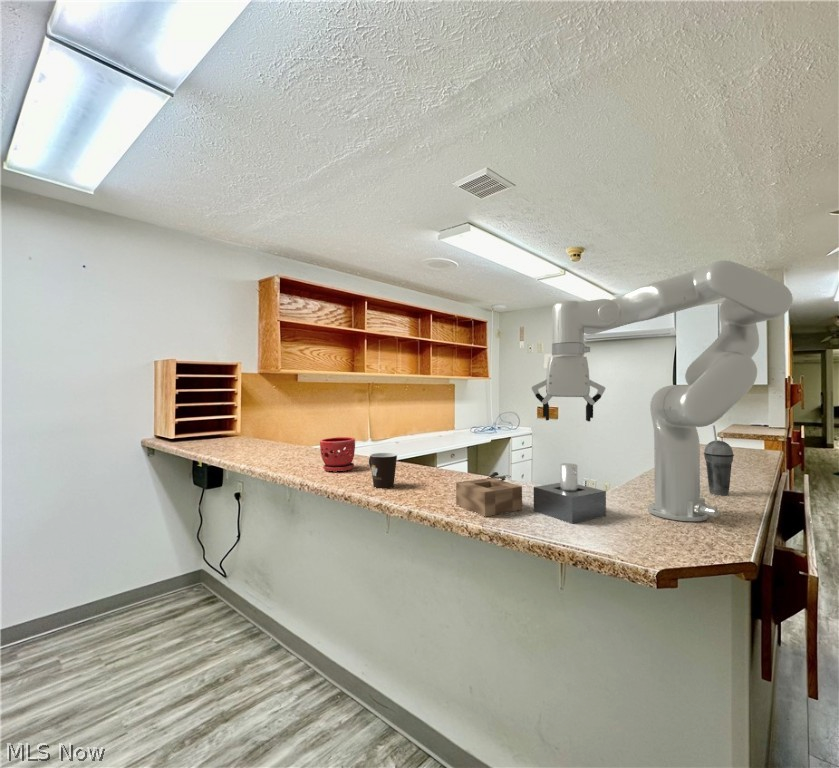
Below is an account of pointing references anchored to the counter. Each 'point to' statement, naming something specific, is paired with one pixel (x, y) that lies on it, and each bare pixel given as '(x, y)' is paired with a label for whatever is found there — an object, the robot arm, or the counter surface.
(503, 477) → the hacksaw
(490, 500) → the block
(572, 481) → the silver metal cylinder
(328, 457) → the plant pot
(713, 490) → the beverage cup
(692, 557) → the counter surface
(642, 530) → the counter surface
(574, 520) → the socket block
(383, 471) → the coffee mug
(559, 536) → the counter surface
